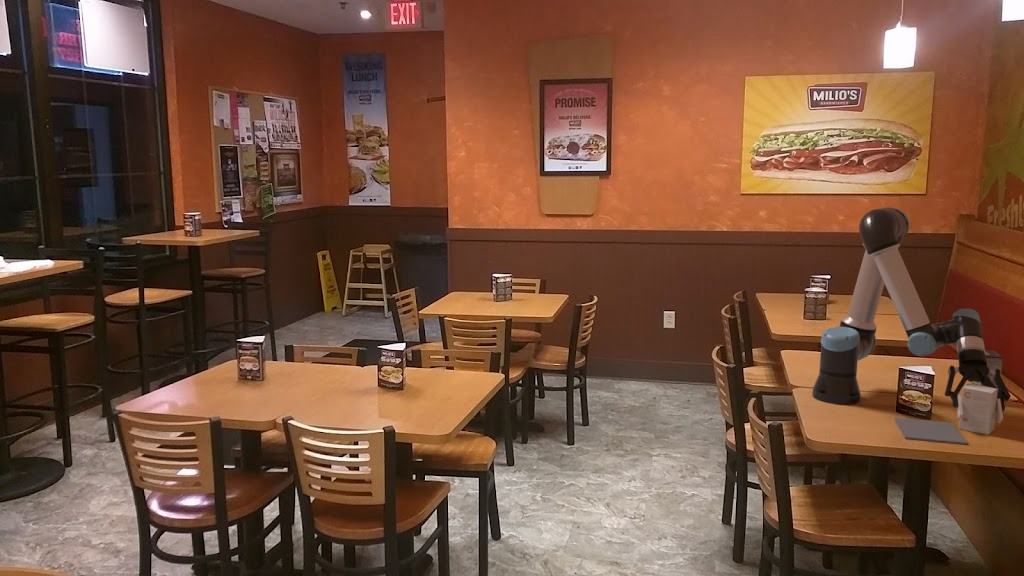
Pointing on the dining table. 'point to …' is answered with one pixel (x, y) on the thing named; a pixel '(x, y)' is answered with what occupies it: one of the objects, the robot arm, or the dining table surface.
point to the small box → (978, 408)
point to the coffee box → (992, 365)
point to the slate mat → (929, 431)
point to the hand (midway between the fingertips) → (980, 418)
